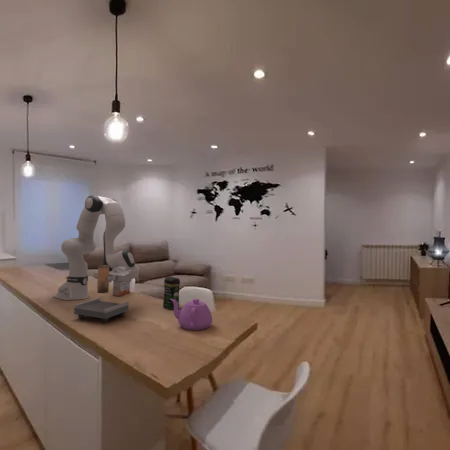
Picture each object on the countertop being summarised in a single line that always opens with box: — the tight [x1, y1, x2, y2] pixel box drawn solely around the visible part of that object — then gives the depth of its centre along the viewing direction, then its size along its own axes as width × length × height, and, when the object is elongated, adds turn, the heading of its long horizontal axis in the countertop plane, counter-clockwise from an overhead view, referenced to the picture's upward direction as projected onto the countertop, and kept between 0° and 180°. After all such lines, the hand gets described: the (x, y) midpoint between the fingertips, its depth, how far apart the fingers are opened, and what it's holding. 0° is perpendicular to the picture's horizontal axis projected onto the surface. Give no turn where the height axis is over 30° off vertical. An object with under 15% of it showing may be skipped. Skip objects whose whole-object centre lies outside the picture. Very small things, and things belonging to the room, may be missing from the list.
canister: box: [96, 264, 110, 294], centre depth 176 cm, size 6×6×14 cm
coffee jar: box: [162, 276, 181, 310], centre depth 202 cm, size 10×8×19 cm
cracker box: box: [112, 281, 131, 297], centre depth 233 cm, size 14×6×21 cm, turn 168°
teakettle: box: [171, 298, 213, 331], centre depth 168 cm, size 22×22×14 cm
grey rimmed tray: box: [73, 297, 129, 324], centre depth 177 cm, size 20×18×7 cm
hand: (102, 278), depth 176 cm, fingers closed on canister, 6 cm apart
